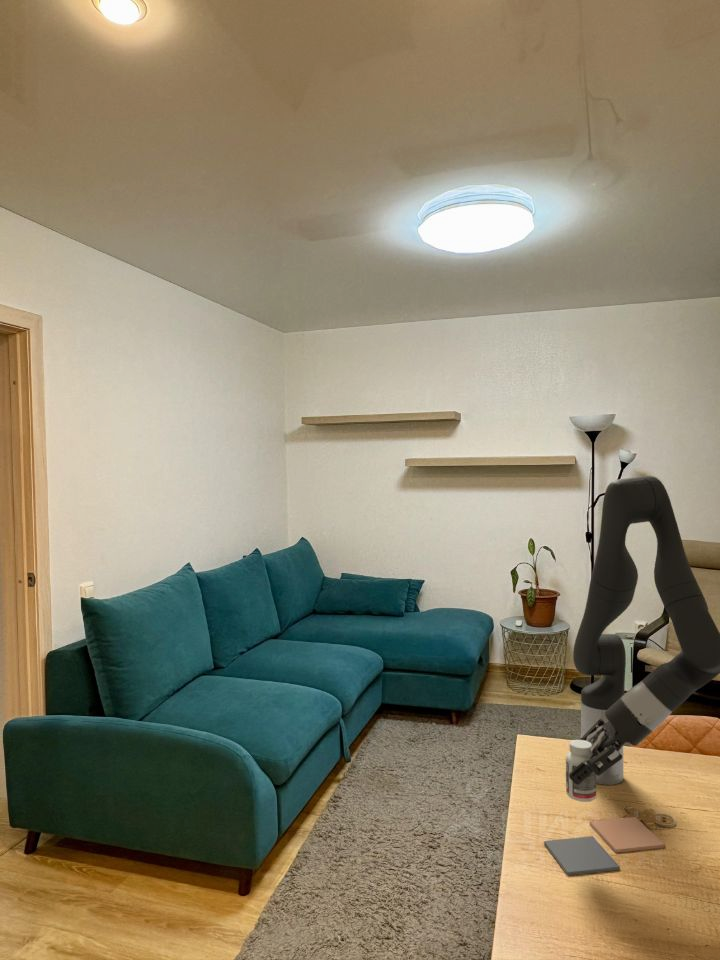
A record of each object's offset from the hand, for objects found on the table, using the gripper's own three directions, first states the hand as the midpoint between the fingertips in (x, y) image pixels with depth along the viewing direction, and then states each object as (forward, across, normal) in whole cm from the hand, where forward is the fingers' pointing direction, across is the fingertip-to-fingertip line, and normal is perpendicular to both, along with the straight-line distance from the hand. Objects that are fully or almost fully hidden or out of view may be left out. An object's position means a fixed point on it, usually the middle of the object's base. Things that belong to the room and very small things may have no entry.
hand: (571, 772), depth 125 cm
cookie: (-1, -16, +24) cm, 29 cm away
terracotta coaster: (+3, -9, +19) cm, 21 cm away
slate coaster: (+10, 0, +12) cm, 16 cm away
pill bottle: (+2, 0, +4) cm, 5 cm away
